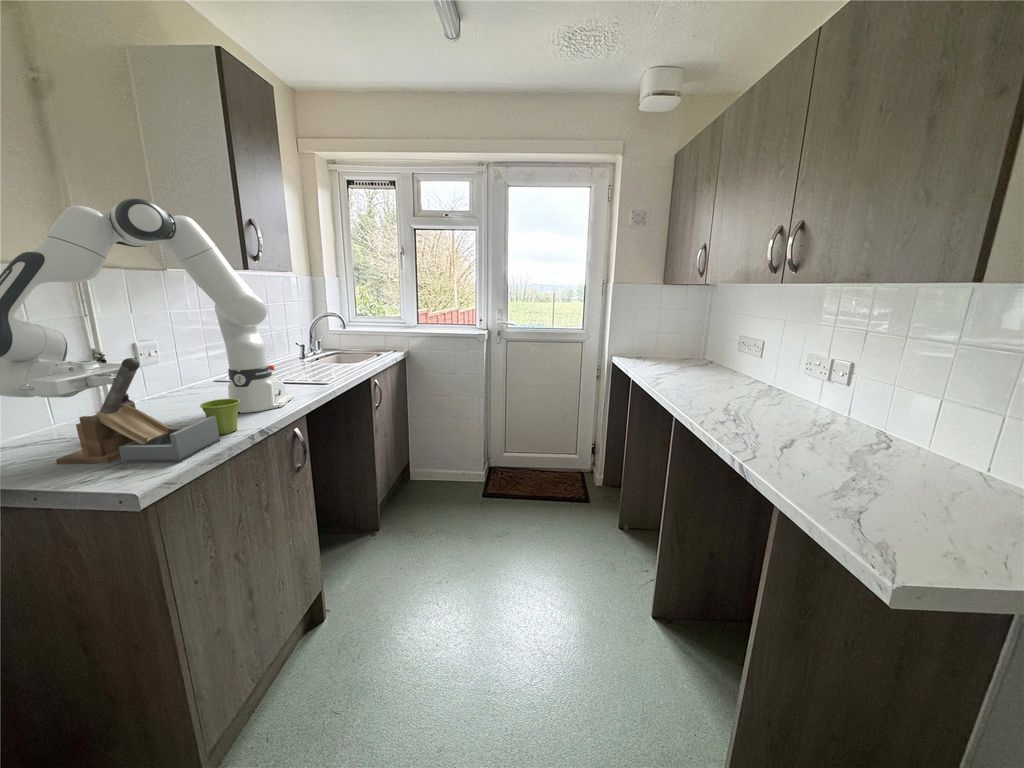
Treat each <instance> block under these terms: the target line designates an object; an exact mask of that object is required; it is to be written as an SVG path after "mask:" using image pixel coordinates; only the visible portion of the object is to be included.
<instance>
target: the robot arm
mask: <svg viewBox="0 0 1024 768" xmlns="http://www.w3.org/2000/svg"><path fill="white" fill-rule="evenodd" d="M154 243H159V244H160V245H162V246H164V247H166V248H167V249H168V250H169V251H170V252H171V253H172V254H173V256H174V257H175V259H176V260H177V261H178V262H179V264H180V265H181V266H182V268H183V269H184V270H185V271H186V272H187V274H188V275H189V276H190V277H191V279H192V280H193V281H194V283H195V284H196V286H198V288H200V289H201V290H202V291H203V292H204V293H205V294H206V295H207V296H208V297H209V299H211V300H212V301H213V302H214V311H215V315H216V317H217V322H218V325H219V329H220V333H221V335H222V338H223V341H224V345H225V349H226V356H227V361H228V367H229V368H228V369H227V371H228V372H227V375H228V377H229V380H230V383H228V385H227V388H228V389H227V391H228V399H239V400H240V403H239V406H238V412H240V413H246V414H247V413H254V412H255V413H256V412H262V411H267V410H271V409H278V407H279V408H283V407H284V406H285V405H286V404H288V403H289V402H290V401H291V400H293V398H294V394H292V393H291V394H290V393H286V392H287V391H286V386H285V384H284V382H282V381H281V380H279V379H278V378H276V377H275V376H273V372H272V371H275V369H276V366H275V365H274V364H268V360H267V350H266V346H265V345H266V344H265V341H264V340H263V337H262V335H261V332H260V329H259V327H258V325H260V324H261V323H262V322H263V321H264V320H265V319H266V317H267V314H268V310H267V306H266V304H265V302H264V301H263V300H262V299H261V298H260V297H259V296H258V295H257V294H256V293H255V292H254V291H253V290H252V288H251V287H250V286H249V285H248V284H247V282H246V281H245V280H243V278H242V277H241V276H239V274H238V273H237V272H236V270H234V268H233V267H232V266H231V264H230V263H229V261H228V260H227V258H226V257H225V256H224V255H223V253H222V252H221V250H220V249H219V248H218V247H217V245H216V244H215V242H214V241H213V240H212V238H211V237H209V235H208V234H207V233H206V232H205V231H204V230H203V228H202V227H201V226H200V225H199V224H198V223H197V222H196V221H195V220H194V219H193V218H191V217H190V216H186V215H172V214H171V213H169V212H167V211H166V210H164V209H162V208H161V207H159V206H158V205H156V204H155V203H153V202H151V201H148V200H146V199H142V198H128V199H125V200H123V201H121V202H119V203H116V205H114V206H113V207H112V208H111V209H110V210H109V211H106V212H102V211H99V210H96V209H94V208H92V207H88V206H85V205H71V206H69V207H67V208H65V209H64V210H63V212H61V214H60V215H59V216H58V218H57V219H56V220H55V222H54V223H53V224H52V226H51V228H50V229H49V231H48V233H47V235H46V237H45V239H44V240H43V241H42V243H41V244H40V245H39V246H38V247H36V249H33V250H32V251H25V252H21V253H19V254H18V255H16V257H14V258H13V259H12V260H11V262H9V264H8V265H7V266H6V267H5V269H3V270H2V272H1V273H0V396H2V397H10V398H35V397H40V398H71V397H74V396H76V395H79V393H82V392H84V391H86V390H88V389H93V388H97V387H98V388H99V387H102V386H105V385H112V384H113V382H114V380H115V378H116V375H117V373H118V371H119V369H120V367H121V364H122V363H111V362H110V363H108V362H98V361H97V360H82V361H73V360H72V361H71V360H68V361H67V360H66V359H67V355H68V342H67V339H66V338H65V336H64V335H63V333H61V332H60V331H59V330H57V329H53V328H50V327H47V326H43V325H40V324H37V323H31V322H28V321H23V320H21V319H17V318H15V314H16V313H17V311H18V310H19V309H20V308H21V306H22V305H23V304H24V302H25V301H26V299H27V298H28V296H29V295H30V294H31V293H32V291H33V290H34V289H36V287H38V286H41V285H42V284H46V283H67V284H70V283H72V284H73V283H83V282H88V281H91V280H92V279H94V278H96V277H97V276H98V275H99V274H100V273H101V271H102V269H103V267H104V266H105V265H104V264H105V263H106V260H107V258H108V255H109V253H110V250H111V249H112V247H113V246H114V245H115V244H116V245H122V246H125V247H132V248H139V247H141V248H142V247H145V246H149V245H151V244H154ZM289 400H290V401H289ZM288 401H289V402H288ZM283 405H284V406H283ZM282 406H283V407H282Z"/></svg>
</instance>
